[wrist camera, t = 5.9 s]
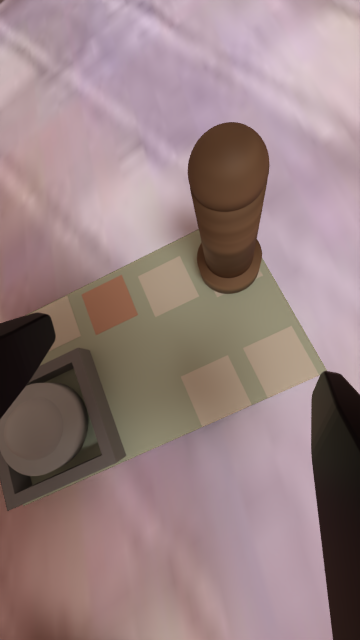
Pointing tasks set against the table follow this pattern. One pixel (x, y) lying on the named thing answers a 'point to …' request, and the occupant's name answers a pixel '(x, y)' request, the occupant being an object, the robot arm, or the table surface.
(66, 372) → the board
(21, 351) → the robot arm
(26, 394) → the dome
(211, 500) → the table surface
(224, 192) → the pawn
